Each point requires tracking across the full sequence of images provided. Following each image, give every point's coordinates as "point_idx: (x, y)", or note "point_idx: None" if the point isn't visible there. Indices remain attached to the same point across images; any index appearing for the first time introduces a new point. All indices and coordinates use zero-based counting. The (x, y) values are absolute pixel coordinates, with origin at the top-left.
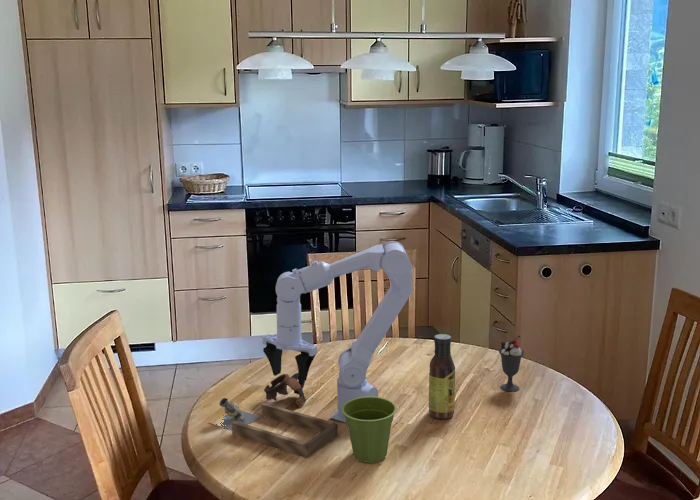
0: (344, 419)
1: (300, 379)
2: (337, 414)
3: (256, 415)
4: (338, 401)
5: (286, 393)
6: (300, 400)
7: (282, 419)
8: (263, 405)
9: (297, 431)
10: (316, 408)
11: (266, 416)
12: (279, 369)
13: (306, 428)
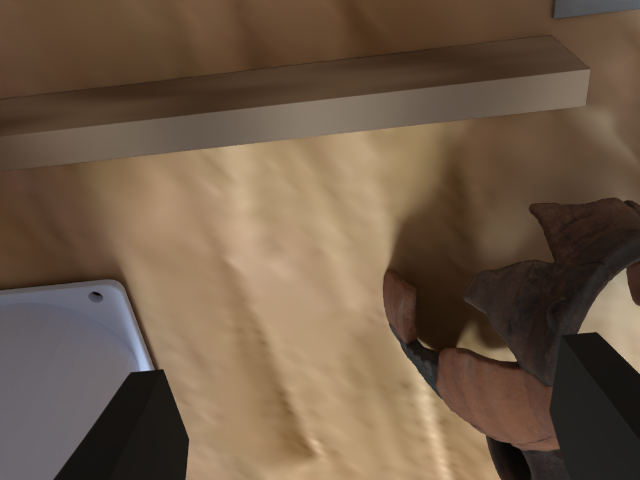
0: (13, 305)
1: (115, 404)
2: (106, 326)
3: (598, 5)
4: (37, 393)
5: (472, 290)
6: (396, 315)
7: (345, 66)
8: (569, 70)
9: (132, 12)
10: (294, 320)
11: (508, 42)
12: (572, 445)
13: (114, 88)
